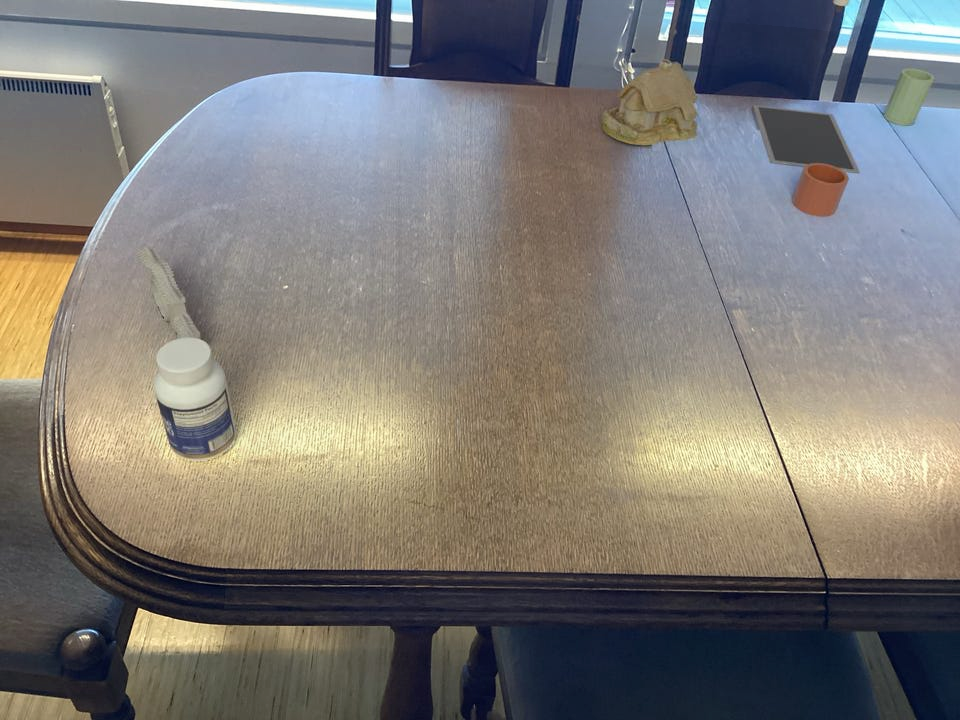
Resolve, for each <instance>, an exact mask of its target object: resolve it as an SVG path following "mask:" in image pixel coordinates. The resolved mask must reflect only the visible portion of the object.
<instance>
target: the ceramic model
mask: <svg viewBox="0 0 960 720" xmlns="http://www.w3.org/2000/svg"><path fill="white" fill-rule="evenodd" d="M616 97H617V98H618V99H620V102H619V103H620V104H619V106H616V107H612V108H611V109H606V110H603V112H602V113H601V116H600V123H601V129H602V131H603V132H604V133H605V134H606V135H608V136H610V138H613V139H614V140H617V141H619V142H623V143H626V144H629V145H634V146H635V145H636V146H652V145H653V144H657V143H660V142H671V141H686V140H691V139H694V138H696V137H697V136H698V134H697V129H698V122H697V121H696V118H697V117H698V111H697V109H696V107H695V105H694V104H695V103H696V102H697V95H696V90H695V86H694V84H693V81H692V79H690V78H689V77H688V75H687V73H686V72H685V70H684V69H683V67H682V64H681V63H679V62H678V61H671V60H669V59H667V58H664V59H662V60H660V61H659V65H658V66H656V67H652V68H649V69H644V71H643V72H642V73H640V74H638V75H637V76H636V77H635V78H634V79H631V80H630V81H629V82H627V83H626V85H624V86H623V87H622V88H621V90H620V91H619V92H618V93H617V96H616Z"/></svg>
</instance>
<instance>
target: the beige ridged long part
mask: <svg viewBox="0 0 960 720" xmlns="http://www.w3.org/2000/svg"><path fill="white" fill-rule="evenodd" d="M137 255H138V257H139V259H140V261H141V262H142V264H143V266H144V267H145V270H146V274H147V278H148V283H149V286H150V290H152V291H151V293H152V292H153V293H152V295H153V298H154V302H155V305H156V306H158V307H159V309H160V307H164V310H165V314H166V318H165V320H166V321H165V320H164V321H165V322H166V323H168V322H169V321H170V323H171V324H172V326H173V327H174V329H175V331H176V333H177V335H176V337H177V338H176V339H179V338H185V337H191V338H198V339H201V332H200V331H199V330H198V328H197V326H195V324H194V321H193V319H192V318H191V316H190V315H189V313H187V308H186V304H185V303H186V297H185V296H184V294H183V292H181V290H180V287H179V286H178V284H177V281H175V278H174V276H175V274H174V271H173V270H172V268H171V267H170V264H169V262H168V261H165V260H163V259H162V258H161V257H160V254H158V252H157V250H156V248H155V247H150V246H148V245H146V246H144V247H143V249H141V250H140V251H138V252H137ZM158 307H157V308H158ZM159 309H158V310H159ZM167 321H168V322H167ZM170 323H169V324H170ZM171 324H170V325H171ZM172 326H171V327H172ZM175 331H174V332H175ZM176 333H175V334H176ZM201 340H202V339H201Z"/></svg>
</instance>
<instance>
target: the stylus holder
mask: <svg viewBox="0 0 960 720" xmlns="http://www.w3.org/2000/svg"><path fill="white" fill-rule="evenodd" d="M849 181H850V178H849V175H848V173H847V172H844V171H843V170H841V169H839V168H837V167H835V166H832V165H828V164H823V163H811V164H808V165H806V166H805V167H803V169H802V171H801V174H800V177H799V179H798V183H797V185H796V187H795V191H794V193H793V195H792V198H791V203H792V205H793V206H794V207H795V208H796V209H797V210H799V211H800V212H802V213H804V214H807V215H808V216H809V215H810V216H814V217H821V218H825V217H830V216H833V215H834V214H835V213H836V212H837V209H838V207H839V204H840V203H841V200H842V197H843V195H844V193H845V190H846V188H847V185H848V183H849Z"/></svg>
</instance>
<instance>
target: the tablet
mask: <svg viewBox="0 0 960 720" xmlns="http://www.w3.org/2000/svg"><path fill="white" fill-rule="evenodd" d="M751 113H752V115H753V118H754V122H755V125H756V129H757V130H758V131H759V133H760V135H761V139H762V141H763V144H764V148H765V151H766V153H767V154H766V155H767V157H768V160H769V163H770V164H772V165H780V166H781V165H782V166H790V167H799V168H804V167H805V166H806V165H808V164H811V163H823V164H828V165H832V166H835V167H837V168H839V169H841V170H843V171H844V172H845V173H847V174H848V173H849V174H857V175H859V174H860V172H861V171H860V169H859V167H858V165H857V164H856V163H857V162H856V161H855V159H854V157H853V155H852V153H851V149H850V148H849V146H848V144H847V142H846V140H845V138H844V136H843V133H842V131H841V128H840V127H839V125H838V122H837V121H836V118H835V116H834V114H833V113H825V112H816V111H807V110H799V109H791V108H782V107H773V106H766V105H756V104H753V105H752V107H751Z"/></svg>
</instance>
